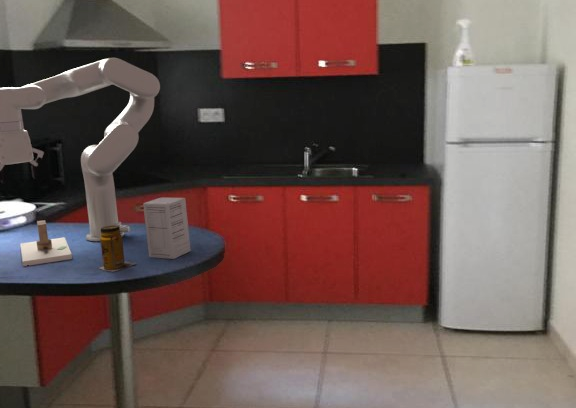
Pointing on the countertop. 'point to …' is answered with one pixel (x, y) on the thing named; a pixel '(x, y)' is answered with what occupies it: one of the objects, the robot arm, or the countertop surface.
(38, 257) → the white rectangular slab
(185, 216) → the supplement box
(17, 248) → the countertop surface
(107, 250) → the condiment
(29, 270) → the countertop surface
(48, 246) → the brown piece
